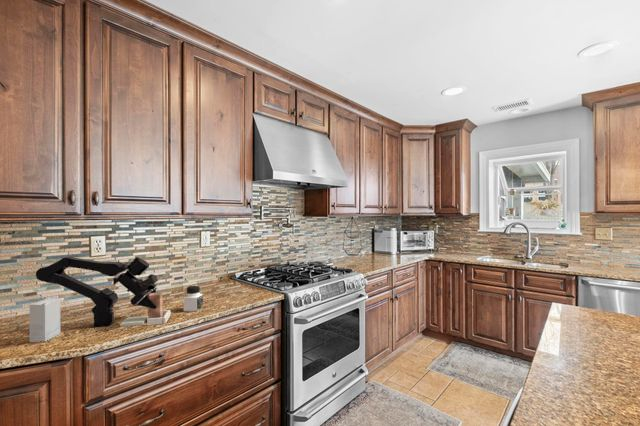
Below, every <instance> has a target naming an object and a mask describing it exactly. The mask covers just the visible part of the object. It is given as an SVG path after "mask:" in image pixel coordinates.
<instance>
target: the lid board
mask: <svg viewBox="0 0 640 426" xmlns="http://www.w3.org/2000/svg"><path fill="white" fill-rule="evenodd" d="M147 319H148V315H142V316H133V317H132V316H131V317H126V318H124V320H122V321H121V323H119V327H120V328H123V327H130V326H142V325H144V324H145V323H146V322H147Z"/></svg>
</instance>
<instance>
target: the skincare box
mask: <svg viewBox="0 0 640 426" xmlns="http://www.w3.org/2000/svg"><path fill="white" fill-rule="evenodd" d="M60 334H61V298H44V299H41V300H39V301H37V302H34V303H31V304H29V343H41V342H40V341H46V342H48V341H49V339H50V340H52V339H53V338H55V337H57V336H60ZM47 340H48V341H47Z"/></svg>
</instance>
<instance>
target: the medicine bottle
mask: <svg viewBox="0 0 640 426" xmlns="http://www.w3.org/2000/svg"><path fill="white" fill-rule="evenodd" d="M200 290H201V289H200V286H199V285H196V284H195V285H193V284H192V285H189V286H187V287H186V296H184V297H183V312H199V311H200V310H201V309H203V308H204V294H203V293H200V292H201V291H200Z"/></svg>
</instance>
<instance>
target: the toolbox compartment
mask: <svg viewBox="0 0 640 426" xmlns="http://www.w3.org/2000/svg"><path fill="white" fill-rule="evenodd" d="M170 316H171V309H165V310H164V309H163V317H160V318H150V319H147V320H146V324H147V326H152V325H159V324H160V325H162V324H166V323H167V322H168V320H169V318H170Z"/></svg>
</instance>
